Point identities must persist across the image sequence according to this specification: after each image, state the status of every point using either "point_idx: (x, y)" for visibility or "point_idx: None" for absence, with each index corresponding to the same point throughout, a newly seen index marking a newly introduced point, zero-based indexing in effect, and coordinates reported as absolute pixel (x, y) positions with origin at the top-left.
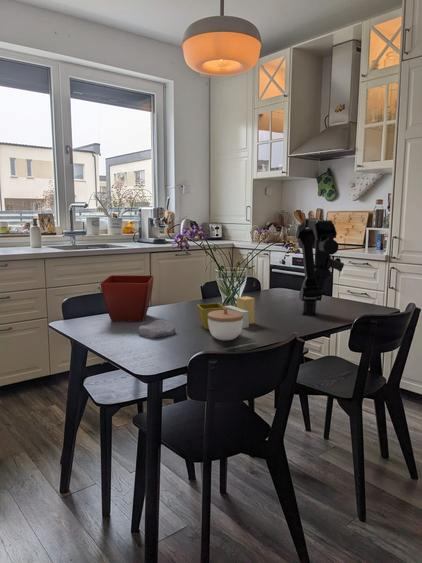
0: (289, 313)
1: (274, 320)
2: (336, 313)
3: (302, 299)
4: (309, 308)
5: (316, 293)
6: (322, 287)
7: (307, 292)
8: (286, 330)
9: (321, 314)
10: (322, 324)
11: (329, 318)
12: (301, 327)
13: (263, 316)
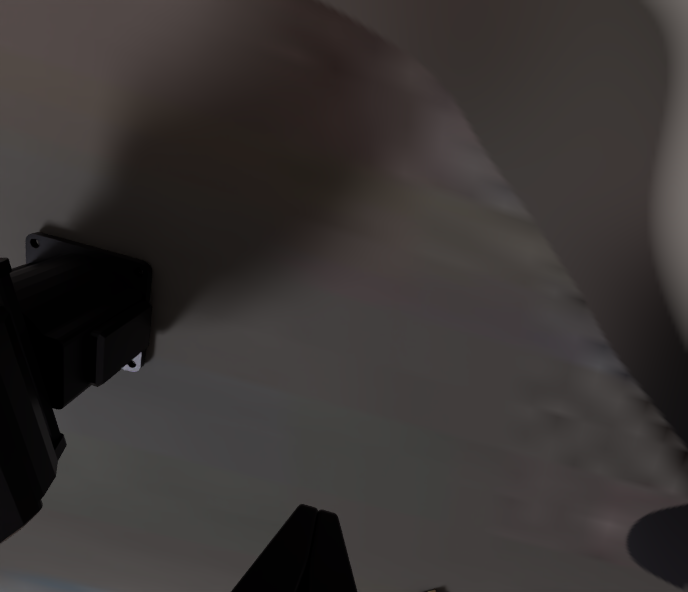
0: (111, 433)
1: None
2: (32, 49)
3: (59, 452)
4: (123, 348)
5: (8, 381)
6: (352, 583)
7: (33, 495)
8: (552, 555)
9: (99, 210)
10: (429, 300)
11: (232, 181)
12: (495, 460)
13: (213, 582)
